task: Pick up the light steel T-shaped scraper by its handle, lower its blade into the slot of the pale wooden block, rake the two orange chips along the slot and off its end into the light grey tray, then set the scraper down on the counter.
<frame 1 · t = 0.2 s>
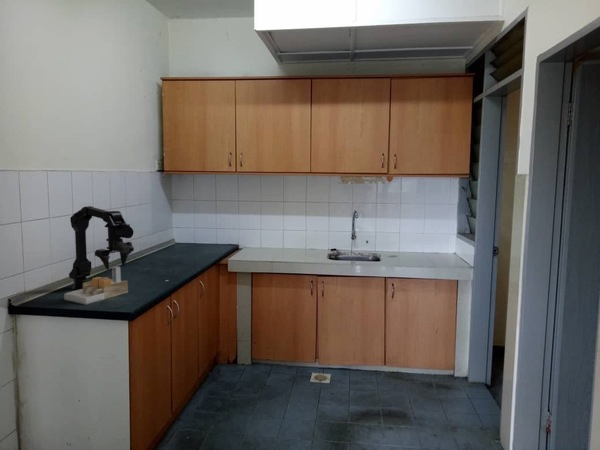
hand: (115, 267, 214), 14 cm above the countertop, tool pointing down, fingers open, 9 cm apart
chip b: (105, 287, 215), point 4 cm above the countertop, touching slot block
chip a: (98, 285, 218), point 4 cm above the countertop, touching slot block
scraper: (116, 285, 235), on the countertop
slot block: (105, 293, 219), on the countertop
chip tray: (84, 299, 208), on the countertop
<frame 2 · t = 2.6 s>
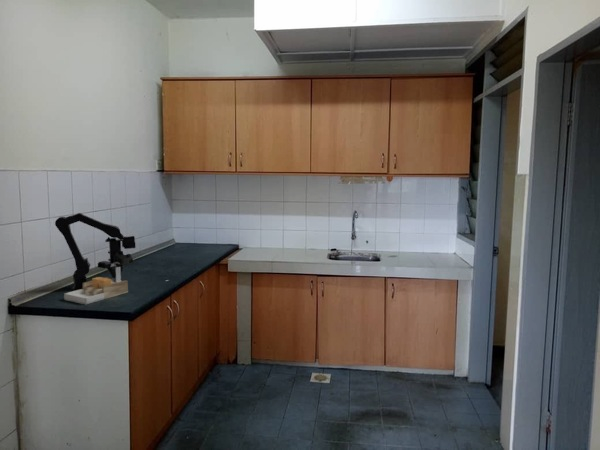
hand: (116, 277, 235), 4 cm above the countertop, tool pointing down, fingers closed on scraper, 3 cm apart
scraper: (116, 284, 235), on the countertop, touching gripper
everything else where it was.
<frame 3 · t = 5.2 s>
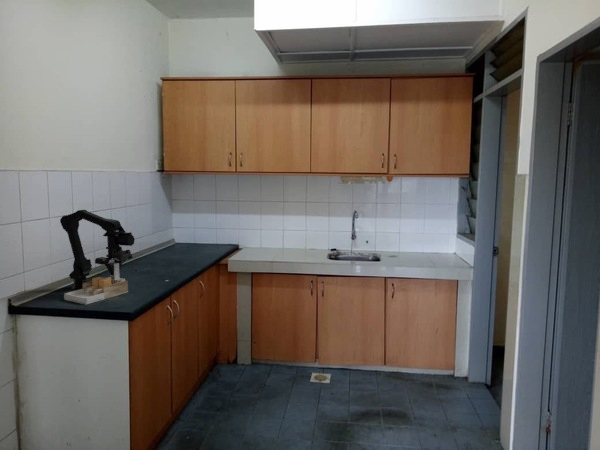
hand: (114, 274, 223), 8 cm above the countertop, tool pointing down, fingers closed on scraper, 3 cm apart
scraper: (115, 282, 224), point 4 cm above the countertop, touching gripper
everything else where it was.
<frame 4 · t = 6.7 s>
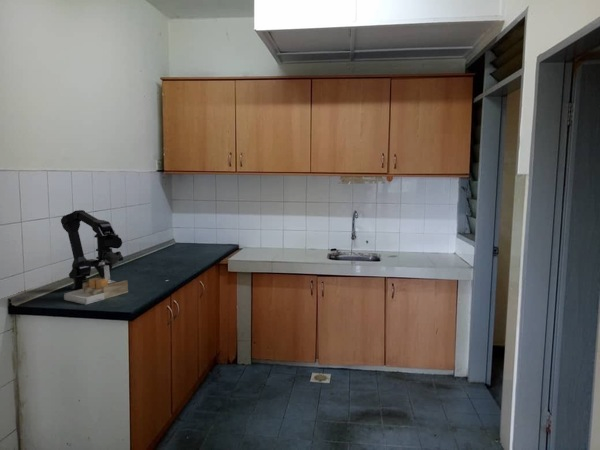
hand: (105, 277, 218), 8 cm above the countertop, tool pointing down, fingers closed on scraper, 3 cm apart
chip b: (102, 288, 214), point 4 cm above the countertop
chip a: (95, 286, 216), point 4 cm above the countertop, touching slot block
scraper: (106, 284, 219), point 4 cm above the countertop, touching gripper
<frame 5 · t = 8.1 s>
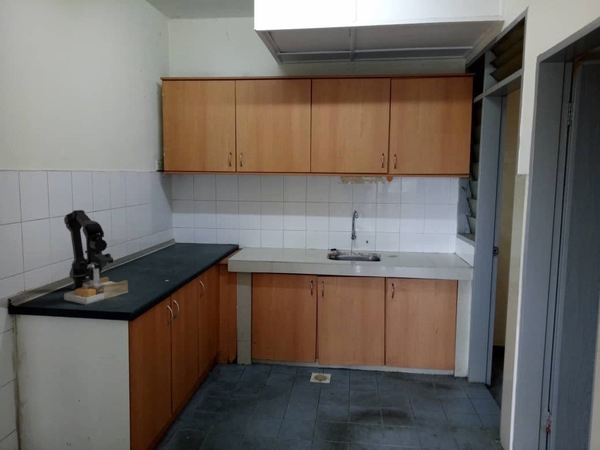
hand: (94, 279, 213), 8 cm above the countertop, tool pointing down, fingers closed on scraper, 3 cm apart
chip b: (93, 293, 209), point 3 cm above the countertop, tilted 90°, touching chip tray
chip a: (85, 291, 212), point 3 cm above the countertop, tilted 90°, touching chip tray
scraper: (95, 288, 213), point 4 cm above the countertop, touching gripper
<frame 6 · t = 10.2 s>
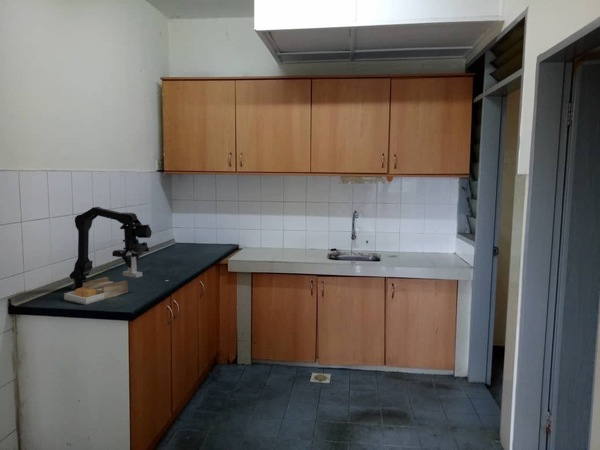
hand: (132, 267, 223), 12 cm above the countertop, tool pointing down, fingers closed on scraper, 3 cm apart
scraper: (132, 275, 223), point 8 cm above the countertop, touching gripper
everything else where it was.
when the fingers open (5 cm above the countertop, at t = 11.9 s): scraper stays where it is, on the countertop.
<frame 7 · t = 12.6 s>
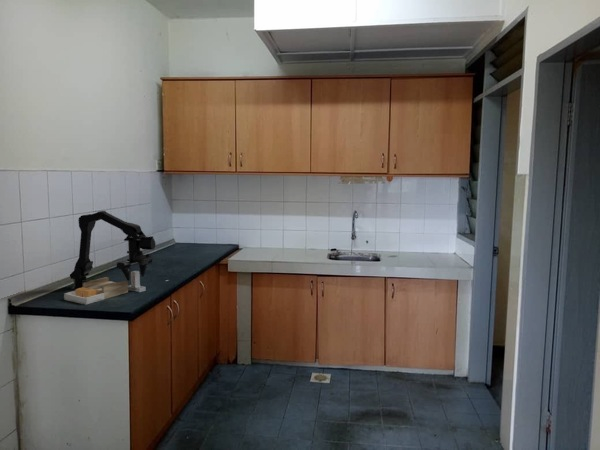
hand: (135, 278, 225), 6 cm above the countertop, tool pointing down, fingers open, 9 cm apart
scraper: (135, 290, 226), on the countertop
everything else where it was.
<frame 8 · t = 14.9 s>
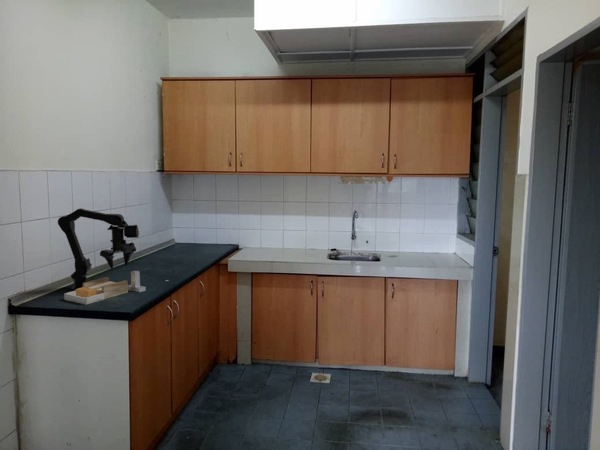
hand: (119, 266, 230), 11 cm above the countertop, tool pointing down, fingers open, 9 cm apart
nothing on the countertop moved.
at the end: chip a inside the target area (3.9 cm from its centre), point 2.8 cm above the countertop; chip b inside the target area (4.0 cm from its centre), point 2.8 cm above the countertop; scraper inside the target area (0.1 cm from its centre), on the countertop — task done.
